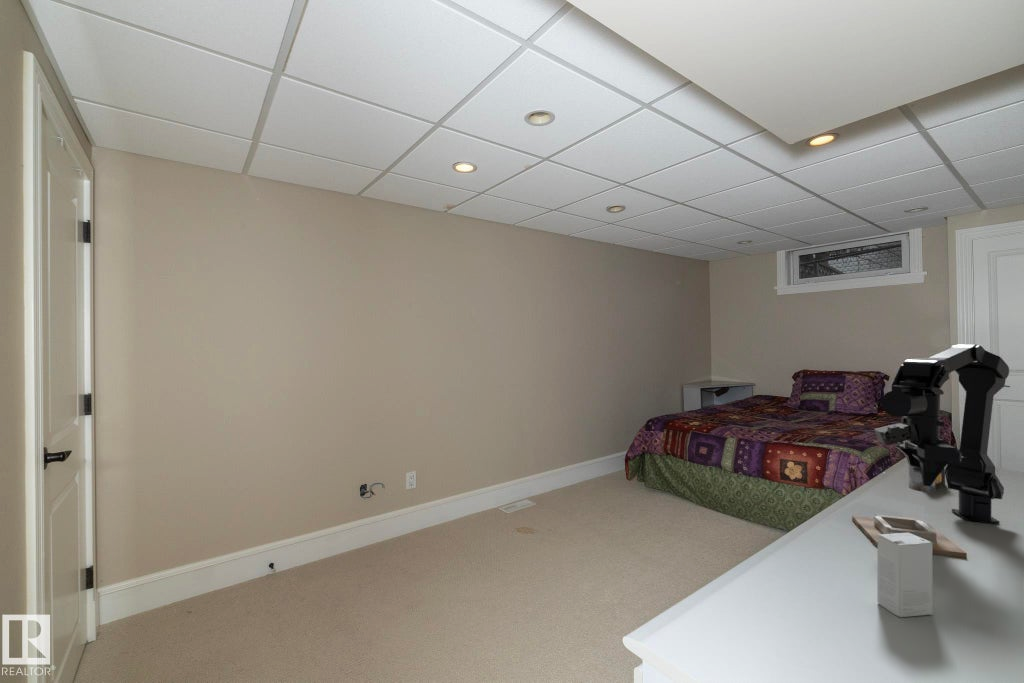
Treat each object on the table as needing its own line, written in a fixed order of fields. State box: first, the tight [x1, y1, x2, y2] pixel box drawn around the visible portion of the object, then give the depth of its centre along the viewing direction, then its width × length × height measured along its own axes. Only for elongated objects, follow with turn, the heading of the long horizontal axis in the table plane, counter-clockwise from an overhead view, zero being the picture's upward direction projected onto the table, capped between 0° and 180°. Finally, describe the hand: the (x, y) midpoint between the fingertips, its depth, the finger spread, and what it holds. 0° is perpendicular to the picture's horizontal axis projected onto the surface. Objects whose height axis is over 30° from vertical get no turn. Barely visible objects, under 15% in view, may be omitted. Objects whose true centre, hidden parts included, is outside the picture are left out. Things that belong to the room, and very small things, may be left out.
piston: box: [908, 464, 936, 494], centre depth 103 cm, size 4×4×5 cm
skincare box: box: [876, 533, 933, 618], centre depth 75 cm, size 6×4×12 cm
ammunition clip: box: [935, 467, 946, 489], centre depth 134 cm, size 11×2×12 cm, turn 117°
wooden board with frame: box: [851, 513, 968, 559], centre depth 101 cm, size 15×15×3 cm
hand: (921, 482), depth 103 cm, fingers closed on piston, 4 cm apart
